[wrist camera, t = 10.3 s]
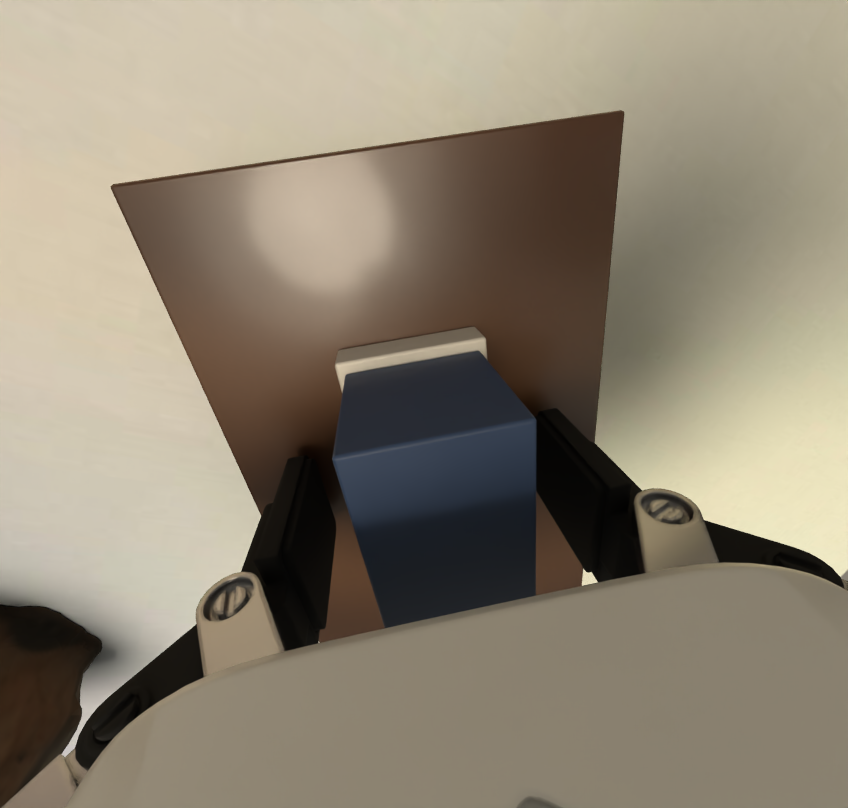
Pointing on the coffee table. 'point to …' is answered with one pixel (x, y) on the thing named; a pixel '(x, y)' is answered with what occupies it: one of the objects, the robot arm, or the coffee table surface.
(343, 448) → the stacked block assembly
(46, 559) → the coffee table surface
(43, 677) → the owl
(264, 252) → the low brown table
